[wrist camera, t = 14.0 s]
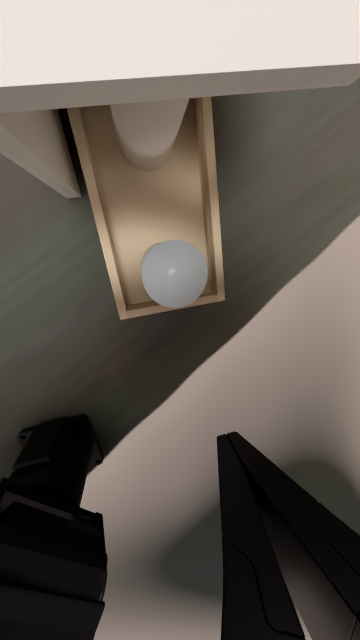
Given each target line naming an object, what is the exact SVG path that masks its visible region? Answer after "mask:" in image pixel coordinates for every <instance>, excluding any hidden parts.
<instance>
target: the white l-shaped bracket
mask: <svg viewBox="0 0 360 640" xmlns="http://www.w3.org/2000/svg"><path fill="white" fill-rule="evenodd" d="M359 77H360V0H0V153H1V154H3V155H4V156H6V157H7V158H9V159H10V160H12V161H13V162H14V163H16V164H17V165H19V166H20V167H22V168H23V169H25V170H26V171H28V172H29V173H31V174H32V175H34V176H35V177H36V178H38V179H39V180H41V181H42V182H44V183H45V184H47V185H48V186H50V187H51V188H53V189H54V190H56V191H57V192H58V193H60V194H61V195H63V196H64V197H66V198H67V199H68V198H76V197H81V193H80V189H79V186H78V182H77V178H76V175H75V171H74V167H73V164H72V160H71V156H70V153H69V149H68V145H67V142H66V138H65V134H64V131H63V127H62V123H61V120H60V116H59V112H58V109H61V108H73V107H86V106H98V105H111V104H123V103H136V102H148V101H161V100H174V99H186V98H199V97H211V96H224V95H236V94H249V93H261V92H274V91H286V90H299V89H311V88H324V87H337V86H349V85H350V84H351V83H353V82H354V81H355V80H356V79H358V78H359Z"/></svg>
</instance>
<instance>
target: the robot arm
mask: <svg viewBox="0 0 360 640" xmlns="http://www.w3.org/2000/svg"><path fill="white" fill-rule="evenodd" d="M81 420H83V421H81ZM23 435H25V436H23ZM17 438H18V440H19V442H20V444H21V446H22V447H23V449H22V451H21V453H20V455H19V456H18V458H17V460H16V462H15V463H14V465H13V467H12V469H13V472H12V473H11V475H10V477H9V479H7V478H4V477H2V478H1V479H0V640H93V639H94V635H95V632H96V629H97V626H98V624H99V621H100V618H101V616H102V613H103V610H104V607H105V602H104V601H102V600H103V596H104V592H105V587H106V580H107V561H108V559H107V554H106V549H105V538H104V527H103V516H102V514H100V513H97V512H96V513H93V512H90V511H88V510H85V509H82V508H80V503H81V499H82V494H83V490H84V485H85V481H86V476H87V472H88V468H89V467H93V466H96V465H100V464H101V463H102V462H103V455H102V452H101V449H100V447H99V444H98V442H97V439H96V437H95V434H94V431H93V429H92V426H91V424H90V421H89V418H88V417H87V416H85V415H82V416H78V417H74V418H70V419H66V420H62V421H58V422H54V423H50V424H46V425H42V426H38V427H34V428H30V429H26V430H22V431H21V432H20V433H19V434H18V436H17ZM217 450H218V468H219V469H218V471H219V490H220V509H221V529H222V551H223V601H222V623H221V640H305V635H304V632H303V630H302V627H301V624H300V622H299V619H298V616H297V613H296V610H295V608H294V605H293V602H292V600H291V597H290V594H291V596H292V598H293V600H294V602H295V604H296V606H297V608H298V610H299V613H300V615H301V617H302V619H303V621H304V623H305V625H306V628H307V629H308V632H309V634H310V636H311V638H312V640H360V535H359V534H358V533H357V532H355V531H354V530H353V529H351V528H350V527H349V526H348V525H346V524H345V523H344V522H343V521H341V520H340V519H339V518H338V517H336V516H335V515H334V514H333V513H332V512H330V511H329V510H328V509H327V508H326V507H325V506H323V505H322V504H321V503H318V501H317V500H316V499H315V498H314V497H313V496H311V495H310V494H309V493H308V492H307V491H306V490H305V489H303V488H302V487H301V486H300V485H298V484H297V483H296V482H295V481H294V480H293V479H291V478H290V477H289V476H288V475H287V474H285V473H284V472H283V471H282V470H281V469H280V468H278V467H277V466H276V465H275V464H274V463H273V462H271V461H270V460H269V459H268V458H267V457H265V456H264V455H263V454H262V453H261V452H260V451H259V450H257V449H256V448H255V447H254V446H253V445H251V444H250V443H249V442H248V441H247V440H246V439H244V438H243V437H242V436H241V435H240V434H239V433H237V432H231V433H227V435H226V434H223V435H220V436H217ZM286 585H287V586H286ZM287 587H288V589H289V591H290V594H289V591H288V589H287Z"/></svg>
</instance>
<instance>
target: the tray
mask: <svg viewBox="0 0 360 640" xmlns="http://www.w3.org/2000/svg"><path fill="white" fill-rule="evenodd" d="M67 111H68V115H69V119H70V123H71V127H72V131H73V135H74V139H75V143H76V147H77V151H78V155H79V158H80V162H81V166H82V170H83V174H84V178H85V182H86V186H87V190H88V194H89V198H90V202H91V206H92V210H93V214H94V218H95V222H96V226H97V230H98V234H99V238H100V242H101V246H102V250H103V254H104V258H105V261H106V265H107V269H108V273H109V277H110V281H111V285H112V289H113V293H114V297H115V301H116V305H117V309H118V313H119V317H120V320H123V319H128V318H134V317H139V316H144V315H149V314H155V313H160V312H165V311H170V310H176V309H181V308H186V307H192V306H197V305H202V304H207V303H213V302H218V301H223V300H225V289H224V275H223V260H222V246H221V231H220V217H219V202H218V188H217V173H216V158H215V144H214V129H213V115H212V100H211V97H199V98H189V101H188V104H187V107H186V110H185V113H184V116H183V119H182V122H181V125H180V128H179V130H178V133H177V136H176V139H175V142H174V145H173V148H172V151H171V154H170V156H169V158H168V160H167V162H166V163H165V164H164V165H163V166H162V167H161V168H159V169H158V170H155V171H151V172H145V171H140V170H138V169H136V168H134V167H132V166H131V165H130V164H129V163H128V162H127V161H126V160H125V158H124V157H123V155H122V154H121V151H120V149H119V146H118V142H117V137H116V132H115V128H114V123H113V118H112V113H111V108H110V105H98V106H86V107H73V108H67ZM170 240H181V241H185V242H188V243H190V244H192V245H193V246H194V247H196V248H197V249H198V250H199V251H200V252H201V254H202V255H203V257H204V259H205V261H206V265H207V270H208V276H207V282H206V285H205V288H204V290H203V292H202V293H201V295H200V296H199V297H198V298H197V299H196V300H195V301H193V302H192V303H190V304H188V305H186V306H183V307H177V308H171V307H166V306H163V305H160V304H159V303H157V302H155V301H154V300H153V299H152V298H151V297H150V296H149V295H148V293H147V292H146V290H145V288H144V285H143V281H142V273H141V260H142V257H143V254H144V253H145V251H146V250H147V249H148V248H149V247H150V246H152V245H154V244H156V243H160V242H165V241H170Z"/></svg>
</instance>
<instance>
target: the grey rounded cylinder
mask: <svg viewBox="0 0 360 640" xmlns="http://www.w3.org/2000/svg"><path fill="white" fill-rule="evenodd" d="M141 273H142V281H143V285H144V288H145V290H146V292H147V293H148V295H149V296H150V297H151V298H152V299H153V300H154V301H155V302H157V303H159V304H160V305H163V306H166V307H171V308H177V307H183V306H186V305H188V304H190V303H192V302H193V301H195V300H196V299H197V298H198V297H199V296H200V295H201V293H202V292H203V290H204V288H205V285H206V282H207V276H208V270H207V265H206V261H205V259H204V257H203V255H202V254H201V252H200V251H199V250H198V249H197V248H196V247H194V246H193V245H192V244H190V243H188V242H185V241H181V240H170V241H165V242H160V243H156V244H154V245H152V246H150V247H149V248H148V249H147V250H146V251H145V253H144V254H143V257H142V260H141Z"/></svg>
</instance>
